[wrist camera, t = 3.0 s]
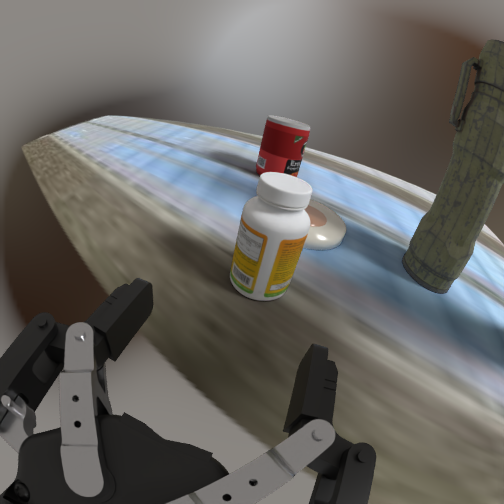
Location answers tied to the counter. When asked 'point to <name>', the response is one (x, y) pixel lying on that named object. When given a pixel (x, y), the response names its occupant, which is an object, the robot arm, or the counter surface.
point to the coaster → (323, 227)
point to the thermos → (464, 177)
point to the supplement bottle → (271, 236)
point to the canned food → (282, 146)
